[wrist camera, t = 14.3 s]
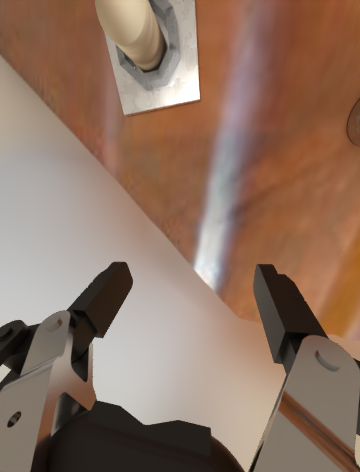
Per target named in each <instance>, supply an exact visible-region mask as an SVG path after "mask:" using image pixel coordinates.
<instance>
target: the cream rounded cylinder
mask: <svg viewBox="0 0 360 472" xmlns="http://www.w3.org/2000/svg"><path fill="white" fill-rule="evenodd" d="M95 4H96V11H97V15H98V18H99V21H100V23H101V26H102V28H103V29H104V31H105V32H106V34H107V35H108V36H109V37H110V38H111V39H112V40H113V41H114V43H115V44H116V45H117V46H118V47H119V48H120V49H121V50H122V51H123V52H124V53H125V54H126V55H127V56H128V57H129V58H130V59H131V60H132V61H133V62H134V63H135V64H136V65H137V66H138V67H139V68H140V69H141V70H142V71H143V72H144V73H148V72H152V71H156V70H159V67H160V65H161V63H162V61H163V59H164V57H165V54H166V52H167V50H168V46H167V42H166V39H165V37H164V35H163V32H162V30H161V28H160V26H159V24H158V21H157V19H156V17H155V15H154V12H153V10H152V8H151V6H150V4H149V1H148V0H95Z"/></svg>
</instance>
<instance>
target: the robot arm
mask: <svg viewBox="0 0 360 472" xmlns="http://www.w3.org/2000/svg"><path fill="white" fill-rule="evenodd" d="M347 132H348V136H349V138H350V139H351V141H352V142H353V143H355V144H356V145H358V146H360V100H359V101H358V102H357V104H356V105H355V107H354V108H353V110H352V112H351V115H350V117H349V121H348V125H347ZM132 285H133V279H132V276H131V273H130V271H129V268H128V265H127V263H126V262H113V263H112V264H111V265H110V266H109V267H108V268H107V269H106V270H104V271H103V272H101V273H100V274H99V275H98V276H97V277H96V278H95V279H94V280H93V282H92V283H90V285H89V286H88V288H86V289H85V290H84V291H83V292H82V294H81V295H80V296H79V297H78V298H77V299H76V300H75V301H74V303H73V304H72V305H71V306H70V307H69V308H68V309H67V310H66V311H65V310H64V311H59V312H56V313H54V314H52V315H51V316H49V317H48V318H46V319H45V320H44V321H43V322H42V323H40V324H36V325H31V326H27V325H26V324H25V323H24V322H23V321H21V320H15V321H12V322H10V323H7V324H6V325H4V326H2V327H0V366H1V365H2V364H4V365H5V366H6V367H8V368H9V369H11V371H10V372H9V373H8V374H7V376H6V377H5V378H4V379H3V380H2V381H1V383H0V472H245V471H244V470H243V468H242V467H241V465H240V464H239V463H238V461H237V460H236V458H235V457H234V456H233V455H232V454H231V452H230V451H229V450H228V449H227V448H226V447H225V446H224V445H223V444H221V442H219V441H218V440H217V439H215V438H214V437H212V436H211V429H210V428H209V427H205V426H201V425H197V424H193V423H188V422H184V421H180V420H176V421H170V422H164V423H158V424H152V425H143V424H142V423H141V422H140V421H138V420H137V419H136V418H135V417H133V416H132V415H131V414H130V413H128V412H127V411H126V410H124V409H123V408H122V407H121V406H118V405H114V404H109V403H105V402H101V401H97V399H96V394H95V391H94V388H93V382H92V381H93V380H92V378H93V376H92V375H93V344H92V340H93V339H94V337H98V338H103V337H104V335H105V334H106V332H107V330H108V328H109V327H110V324H111V323H112V321H113V320H114V318H115V316H116V314H117V313H118V311H119V309H120V307H121V305H122V304H123V302H124V300H125V299H126V297H127V295H128V293H129V292H130V290H131V288H132ZM253 289H254V295H255V299H256V302H257V306H258V309H259V313H260V316H261V319H262V323H263V326H264V330H265V333H266V337H267V340H268V343H269V347H270V350H271V354H272V357H273V361H274V363H278V364H283V366H284V369H285V372H286V377H285V379H284V382H283V385H282V388H281V390H280V392H279V395H278V398H277V400H276V403H275V405H274V408H273V411H272V414H271V416H270V418H269V421H268V423H267V426H266V428H265V431H264V433H263V435H262V438H261V440H260V443H259V445H258V448H257V450H256V453H255V456H254V458H253V461H252V463H251V466H250V469H249V471H248V472H360V467H359V466H358V465H357V463H356V460H355V440H356V434H358V435H359V436H360V361H358V360H356V359H354V358H352V357H351V355H350V354H349V353H348V352H347V351H346V350H344V349H343V348H342V347H341V346H340V345H338V344H337V343H335V342H333V341H332V340H330V339H329V338H328V337H327V335H326V334H325V332H324V330H323V329H322V327H321V325H320V324H319V322H318V321H317V319H316V317H315V316H314V314H313V312H312V311H311V309H310V308H309V306H308V304H307V303H306V301H304V298H303V296H302V294H301V293H300V291H299V290H298V288H297V286H296V285H295V283H294V282H293V281H292V280H291V279H290V278H288V277H287V276H286V275H285V274H278V273H277V271H276V269H275V267H274V266H273V265H272V264H257V265H256V270H255V277H254V284H253Z"/></svg>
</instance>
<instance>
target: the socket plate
mask: <svg viewBox="0 0 360 472" xmlns="http://www.w3.org/2000/svg"><path fill="white" fill-rule="evenodd" d="M148 1H149V4H150V6H151V8H152V10H153V12H154V15H155V17H156V19H157V21H158V24H159V26H160V28H161V30H162V32H163V35H164V37H165V39H166V42H167V46H168V50H167V52H166V54H165V57H164V59H163V61H162V63H161V65H160V67H159V70H156V71H152V72H148V73H144V72H143V71H142V70H141V69H140V68H139V67H138V66H137V65H136V64H135V63H134V62H133V61H132V60H131V59H130V58H129V57H128V56H127V55H126V54H125V53H124V52H123V51H122V50H121V49H120V48H119V47H118V46H117V45H116V44H115V43H114V41H113V40H112V39H111V38H110V37H109V36H108V35H107V34H106V32H105V31H104V32H105V37H106V41H107V45H108V49H109V53H110V57H111V62H112V66H113V70H114V74H115V78H116V82H117V87H118V91H119V95H120V99H121V103H122V108H123V112H124V115H126V116H132V115H137V114H142V113H147V112H151V111H156V110H161V109H166V108H170V107H175V106H180V105H185V104H189V103H194V102H199V101H200V88H199V68H198V47H197V27H196V6H195V0H148Z"/></svg>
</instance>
